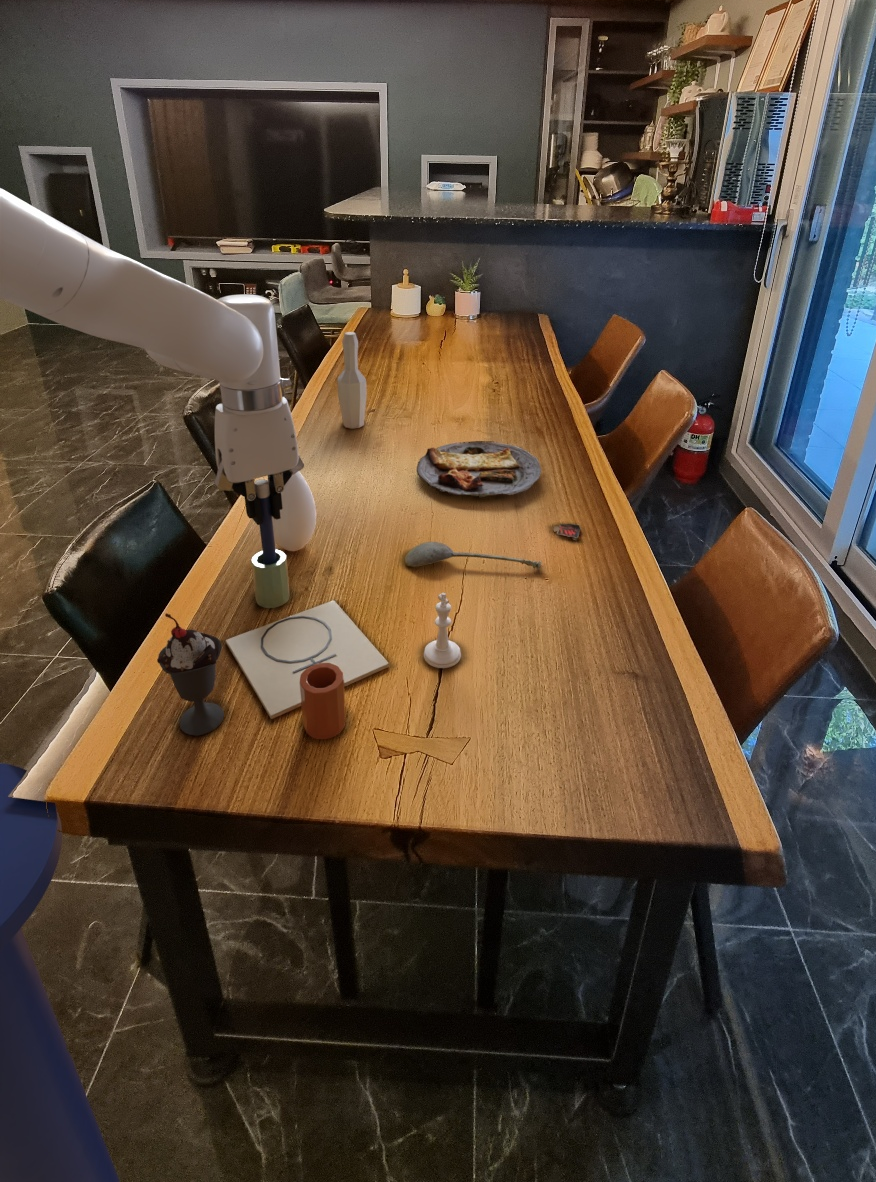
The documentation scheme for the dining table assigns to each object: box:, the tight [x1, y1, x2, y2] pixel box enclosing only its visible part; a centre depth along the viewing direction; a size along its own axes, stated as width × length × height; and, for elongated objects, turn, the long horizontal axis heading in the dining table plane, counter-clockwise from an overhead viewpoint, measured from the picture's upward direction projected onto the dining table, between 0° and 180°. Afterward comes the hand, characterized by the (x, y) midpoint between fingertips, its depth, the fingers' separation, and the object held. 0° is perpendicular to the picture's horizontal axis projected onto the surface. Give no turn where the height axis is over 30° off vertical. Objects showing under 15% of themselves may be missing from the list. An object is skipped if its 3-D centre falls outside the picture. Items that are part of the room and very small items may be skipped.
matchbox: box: [552, 523, 581, 541], centre depth 121 cm, size 5×5×1 cm
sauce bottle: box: [272, 471, 317, 552], centre depth 111 cm, size 8×8×18 cm
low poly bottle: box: [336, 331, 368, 430], centre depth 158 cm, size 6×6×22 cm
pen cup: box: [250, 548, 291, 609], centre depth 101 cm, size 5×5×7 cm
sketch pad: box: [225, 599, 390, 720], centre depth 91 cm, size 16×16×1 cm
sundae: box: [156, 612, 225, 736], centre depth 78 cm, size 7×7×15 cm
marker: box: [254, 478, 277, 565], centre depth 97 cm, size 2×2×14 cm
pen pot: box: [300, 663, 347, 740], centre depth 80 cm, size 5×5×7 cm
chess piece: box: [423, 592, 462, 669], centre depth 90 cm, size 5×5×10 cm
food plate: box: [416, 440, 542, 499], centre depth 140 cm, size 25×23×4 cm
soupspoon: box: [404, 541, 542, 572], centre depth 111 cm, size 22×3×7 cm
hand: (265, 516), depth 97 cm, fingers closed on marker, 2 cm apart
